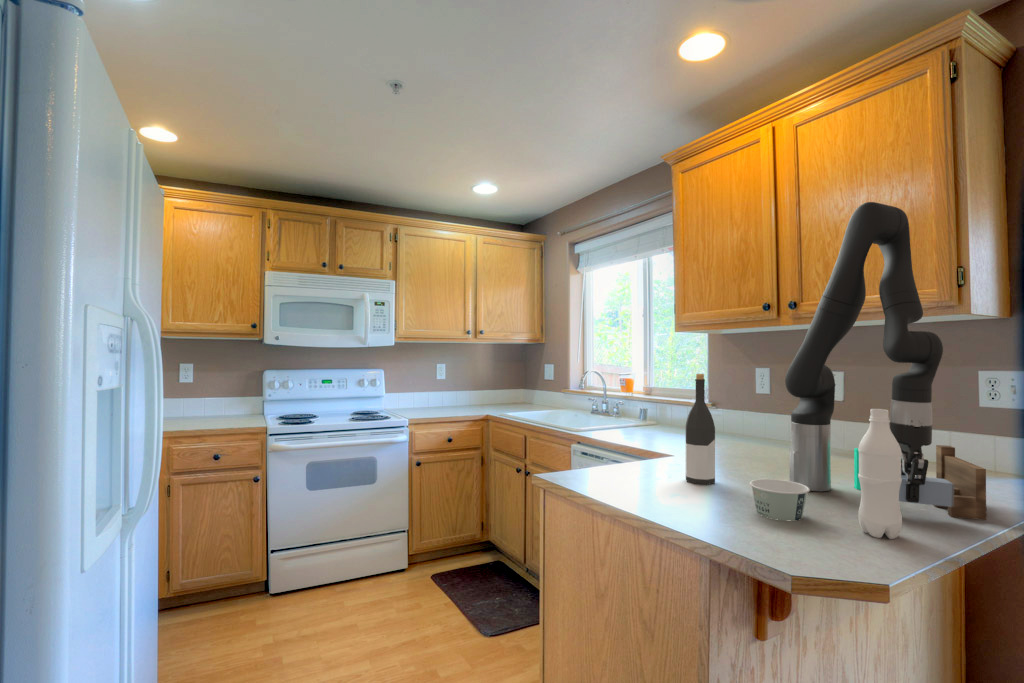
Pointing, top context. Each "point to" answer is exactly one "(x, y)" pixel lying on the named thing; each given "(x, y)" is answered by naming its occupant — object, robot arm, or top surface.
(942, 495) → the light blue rectangular bar
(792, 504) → the food container
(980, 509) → the wooden holder stand
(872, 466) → the water bottle
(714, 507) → the top surface
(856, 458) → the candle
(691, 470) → the wine bottle
